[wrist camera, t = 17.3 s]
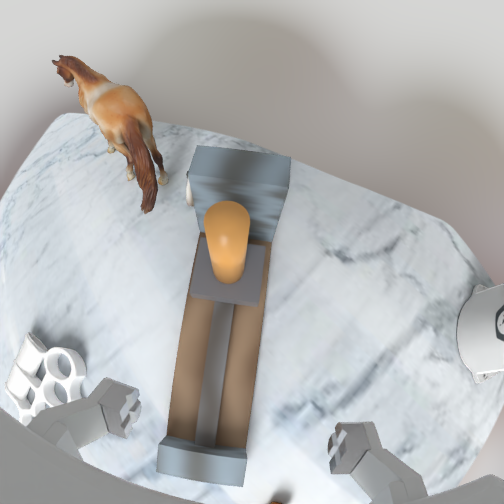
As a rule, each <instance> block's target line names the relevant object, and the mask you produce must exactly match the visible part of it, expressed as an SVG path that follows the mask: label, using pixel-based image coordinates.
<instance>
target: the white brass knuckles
mask: <svg viewBox="0 0 504 504" xmlns="http://www.w3.org/2000/svg"><path fill="white" fill-rule="evenodd" d="M62 353H63V354H65V355H66V356H67V357H68V358H69V360H70V363H71V373H70V375H69V377H66V376H64V375H63V374H62V373H61V372H60V370H59V367H58V358H59V356H60V355H61V354H62ZM43 359H44V365H45V369H46V374H45V376H44V378H43V381H41V380H40V379H39V378H38V377H37V376H36V373H37V371H38V369H39V366H40V364H41V362H42V360H43ZM85 377H86V366H85V363H84V361H83V359H82V357H81V356H80V355H79V354H78V353H77V352H76V351H75V350H73V349H69V348H63V347H53V348H51V349H49V350H47V348H46V347H45V345H44V344H43V343H42V342H41V341H40V340H39V339H38V338H37V337H36V336H35V335H33V334H32V333H30V332H28V334H26V335H25V340H24V342H23V344H22V346H21V349H20V351H19V353H18V355H17V358H16V359H15V360H14V365H13V367H12V370H11V372H10V375H9V377H8V380H7V382H5V390H6V392H7V394H8V395H9V396H10V397H11V399H12V400H13V401H14V402H15V404H16V405H17V407H18V410H19V412H20V423H22V424H23V425H24V426H27V425H28V424H29V423H30V422H31V421H32V415H33V416H34V417H35V416H36V415H37V414H38V413H39V412H40V411H41V410H44V409H46V403H47V404H48V405H49V406H50V408H51V407H55V406H58V405H61V404H64V403H62V402H61V401H60V400H59V399H58V398H57V396H56V394H55V390H54V387H55V383H56V382H59V383H60V384H62V385H63V387H64V388H65V390H66V392H67V396H68V400H67V403H68V402H71V401H75V400H78V399H81V398H82V397H81V393H80V387H81V383H82V381H83V379H84V378H85ZM30 387H31V388H32V389H33V390H34V392H35V399H34V401H33V403H32V406H31V405H30V403H29V401H28V399H27V398H26V396H27V394H28V391H29V389H30Z"/></svg>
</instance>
